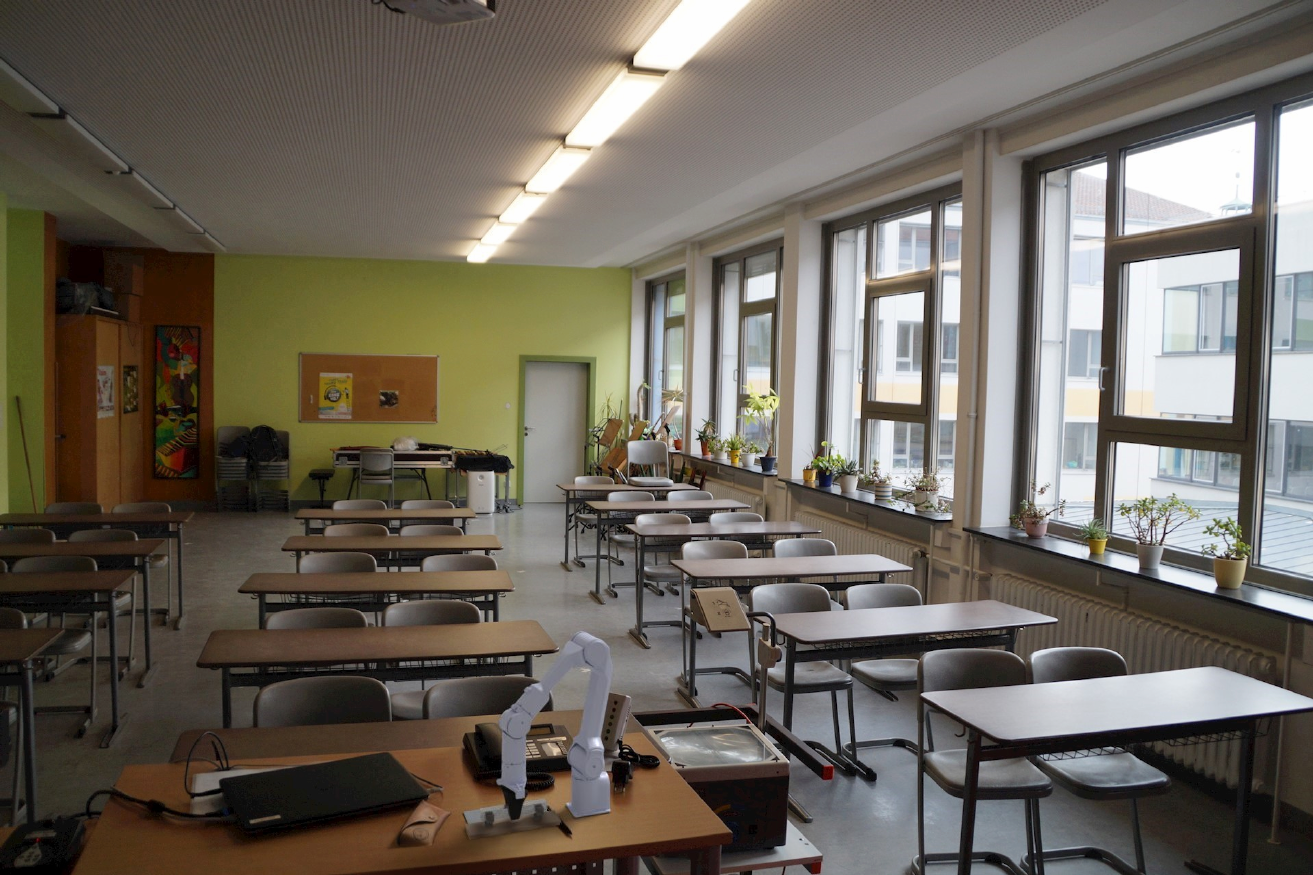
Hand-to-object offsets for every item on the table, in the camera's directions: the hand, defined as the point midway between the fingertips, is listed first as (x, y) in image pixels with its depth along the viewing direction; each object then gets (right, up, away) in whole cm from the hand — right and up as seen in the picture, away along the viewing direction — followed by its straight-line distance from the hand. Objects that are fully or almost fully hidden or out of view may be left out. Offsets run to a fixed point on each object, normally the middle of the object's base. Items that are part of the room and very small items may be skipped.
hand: (513, 816), depth 216 cm
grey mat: (-3, -2, +8) cm, 8 cm away
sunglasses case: (-21, -3, -1) cm, 21 cm away
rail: (0, 0, 0) cm, 0 cm away
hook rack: (0, -3, 0) cm, 2 cm away
